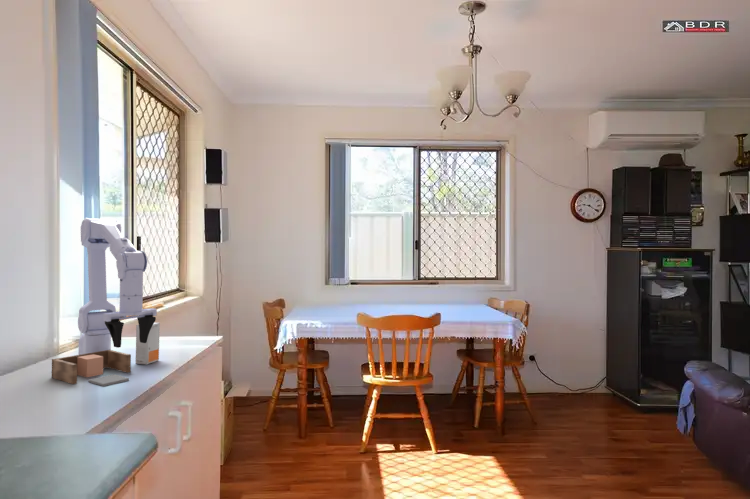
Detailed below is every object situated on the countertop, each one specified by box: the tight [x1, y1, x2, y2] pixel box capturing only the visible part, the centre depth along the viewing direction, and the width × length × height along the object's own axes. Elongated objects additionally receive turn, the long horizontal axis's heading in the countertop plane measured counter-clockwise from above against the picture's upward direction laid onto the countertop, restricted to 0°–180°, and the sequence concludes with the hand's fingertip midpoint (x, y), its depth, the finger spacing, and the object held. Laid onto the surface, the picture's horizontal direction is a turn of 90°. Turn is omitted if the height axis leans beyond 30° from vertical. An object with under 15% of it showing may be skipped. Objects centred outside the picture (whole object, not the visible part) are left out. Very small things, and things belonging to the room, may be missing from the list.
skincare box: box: [135, 322, 161, 365], centre depth 160 cm, size 6×4×12 cm
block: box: [77, 354, 104, 378], centre depth 145 cm, size 5×4×5 cm
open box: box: [51, 349, 132, 385], centre depth 144 cm, size 11×16×5 cm
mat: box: [88, 373, 130, 387], centre depth 138 cm, size 7×7×1 cm
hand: (130, 344), depth 141 cm, fingers open, 7 cm apart
